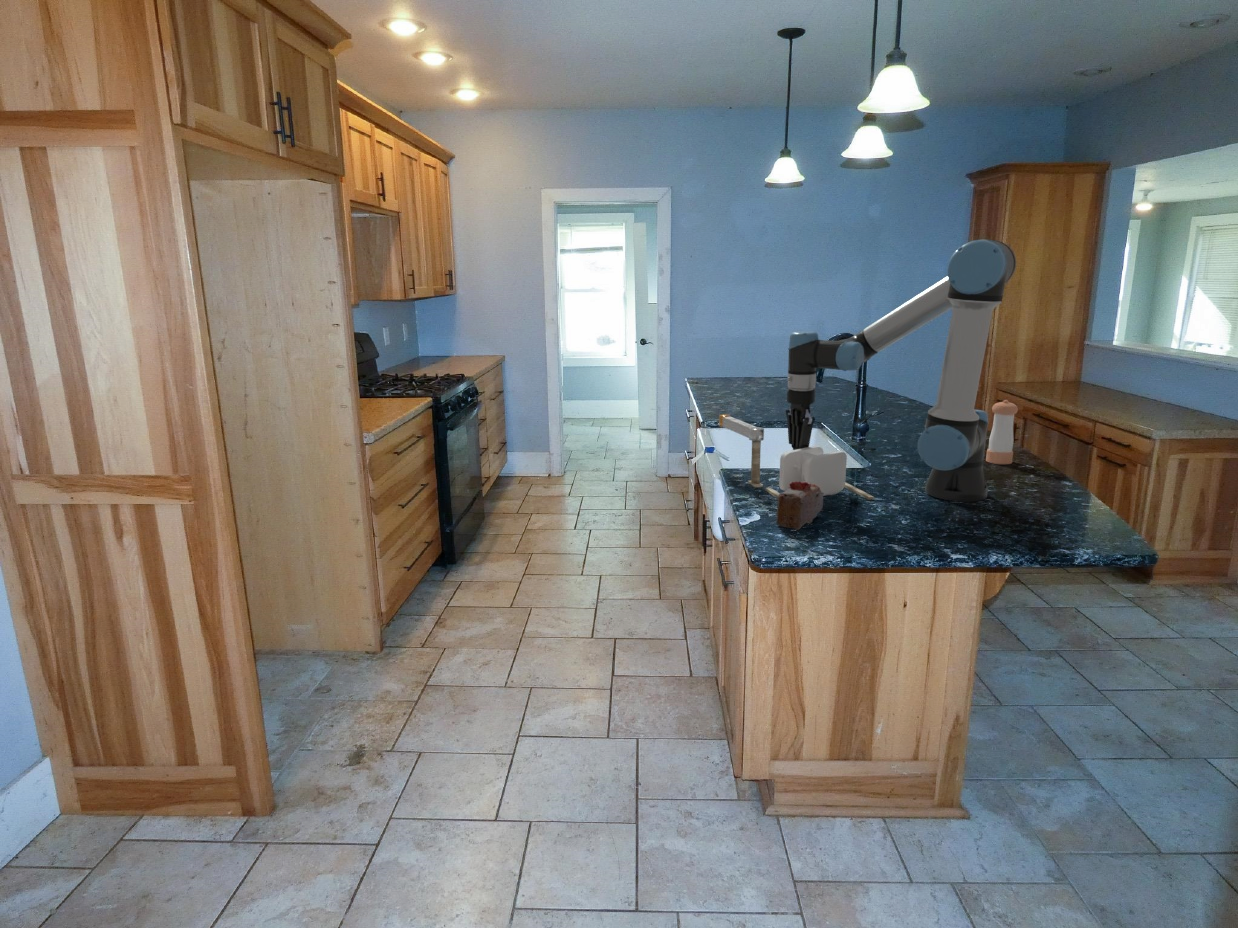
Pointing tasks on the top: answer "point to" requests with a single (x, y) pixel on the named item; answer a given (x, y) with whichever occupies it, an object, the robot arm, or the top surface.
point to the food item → (799, 505)
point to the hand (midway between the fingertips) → (797, 470)
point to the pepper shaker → (1002, 433)
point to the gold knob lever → (741, 428)
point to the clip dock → (756, 483)
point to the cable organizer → (813, 469)
